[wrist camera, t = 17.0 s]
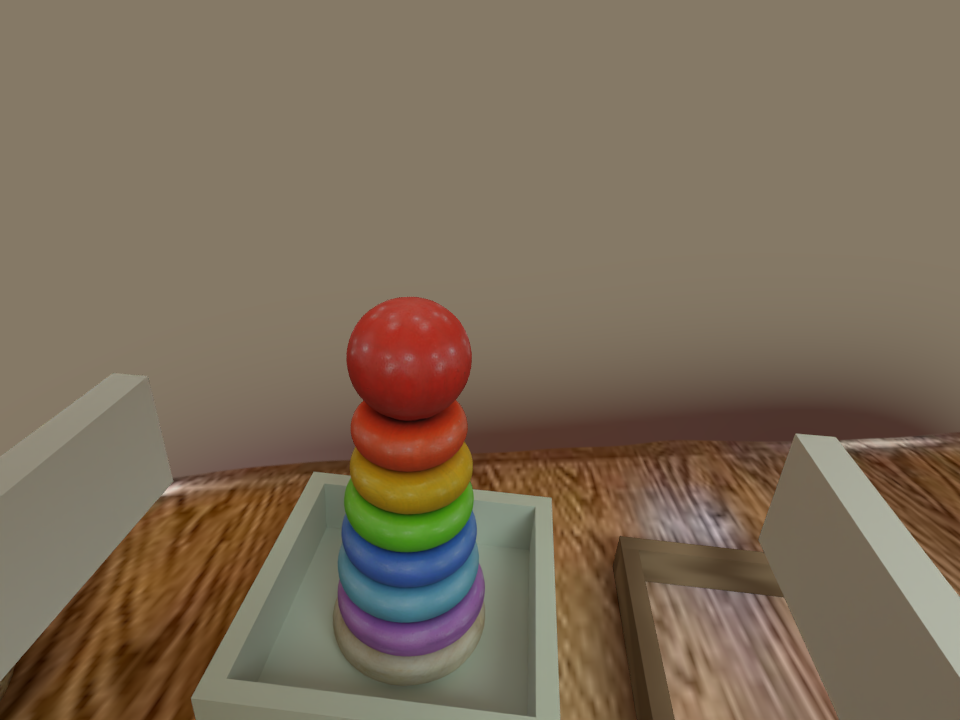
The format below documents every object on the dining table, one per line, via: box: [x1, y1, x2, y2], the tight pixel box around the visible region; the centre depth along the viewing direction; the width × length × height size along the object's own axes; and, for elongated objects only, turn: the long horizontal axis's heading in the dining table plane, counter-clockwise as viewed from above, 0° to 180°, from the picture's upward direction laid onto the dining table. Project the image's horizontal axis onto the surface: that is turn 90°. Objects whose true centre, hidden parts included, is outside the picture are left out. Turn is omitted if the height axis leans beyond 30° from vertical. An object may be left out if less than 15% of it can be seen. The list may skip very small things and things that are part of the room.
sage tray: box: [191, 472, 560, 720], centre depth 31 cm, size 15×15×4 cm
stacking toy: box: [333, 297, 485, 686], centre depth 28 cm, size 8×8×19 cm
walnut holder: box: [613, 536, 784, 720], centre depth 31 cm, size 14×14×2 cm
